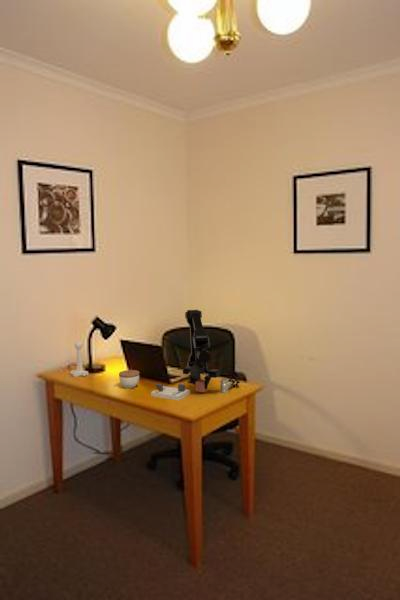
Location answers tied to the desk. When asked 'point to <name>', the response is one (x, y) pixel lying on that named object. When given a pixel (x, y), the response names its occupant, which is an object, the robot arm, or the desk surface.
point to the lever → (181, 387)
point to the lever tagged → (159, 387)
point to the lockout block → (200, 385)
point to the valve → (228, 384)
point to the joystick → (79, 362)
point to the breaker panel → (170, 393)
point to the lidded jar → (129, 378)
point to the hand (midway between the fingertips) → (201, 388)
